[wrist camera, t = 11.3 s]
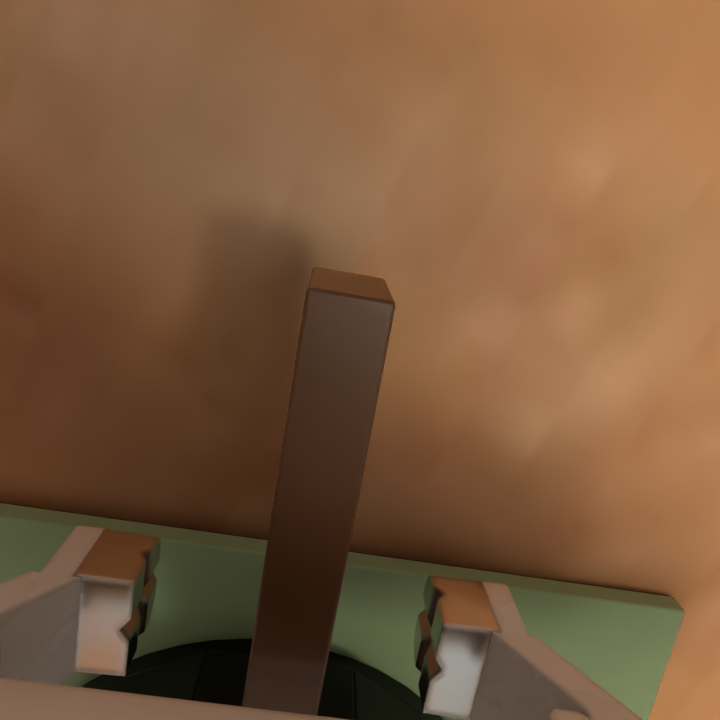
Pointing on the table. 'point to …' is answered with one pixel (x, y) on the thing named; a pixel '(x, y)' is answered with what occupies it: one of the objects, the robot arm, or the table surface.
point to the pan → (304, 535)
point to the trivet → (364, 604)
